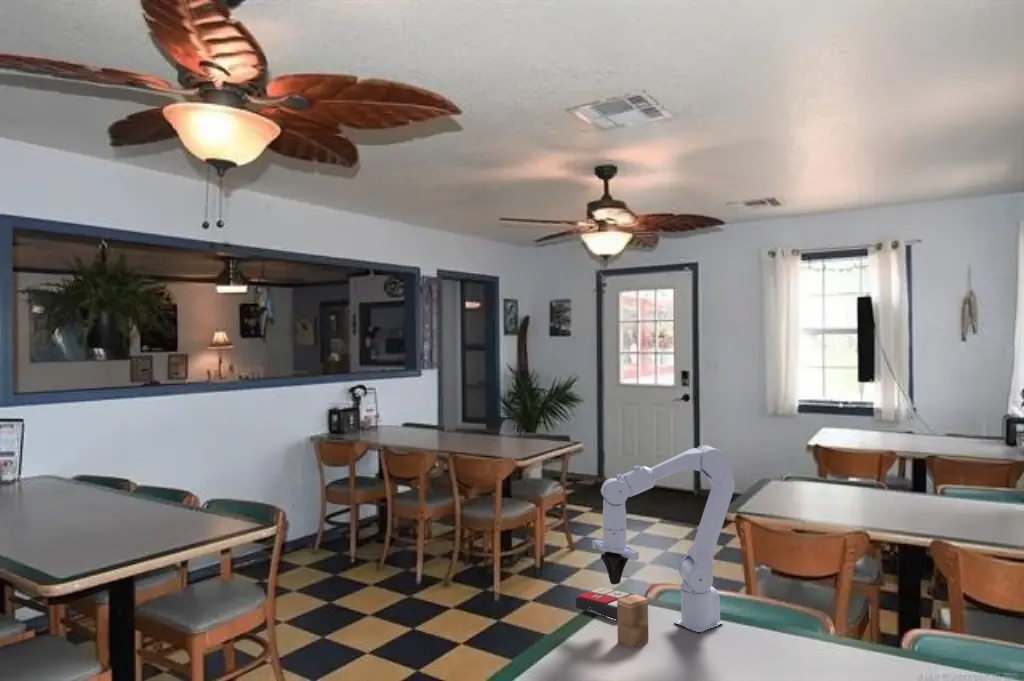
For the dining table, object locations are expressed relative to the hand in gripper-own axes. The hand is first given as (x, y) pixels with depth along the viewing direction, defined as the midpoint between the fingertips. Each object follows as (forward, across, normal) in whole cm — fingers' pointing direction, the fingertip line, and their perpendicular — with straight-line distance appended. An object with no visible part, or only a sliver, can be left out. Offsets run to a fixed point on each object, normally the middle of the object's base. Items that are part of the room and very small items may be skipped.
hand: (615, 583), depth 171 cm
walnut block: (+10, +10, -4) cm, 15 cm away
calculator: (+11, -9, +7) cm, 16 cm away
